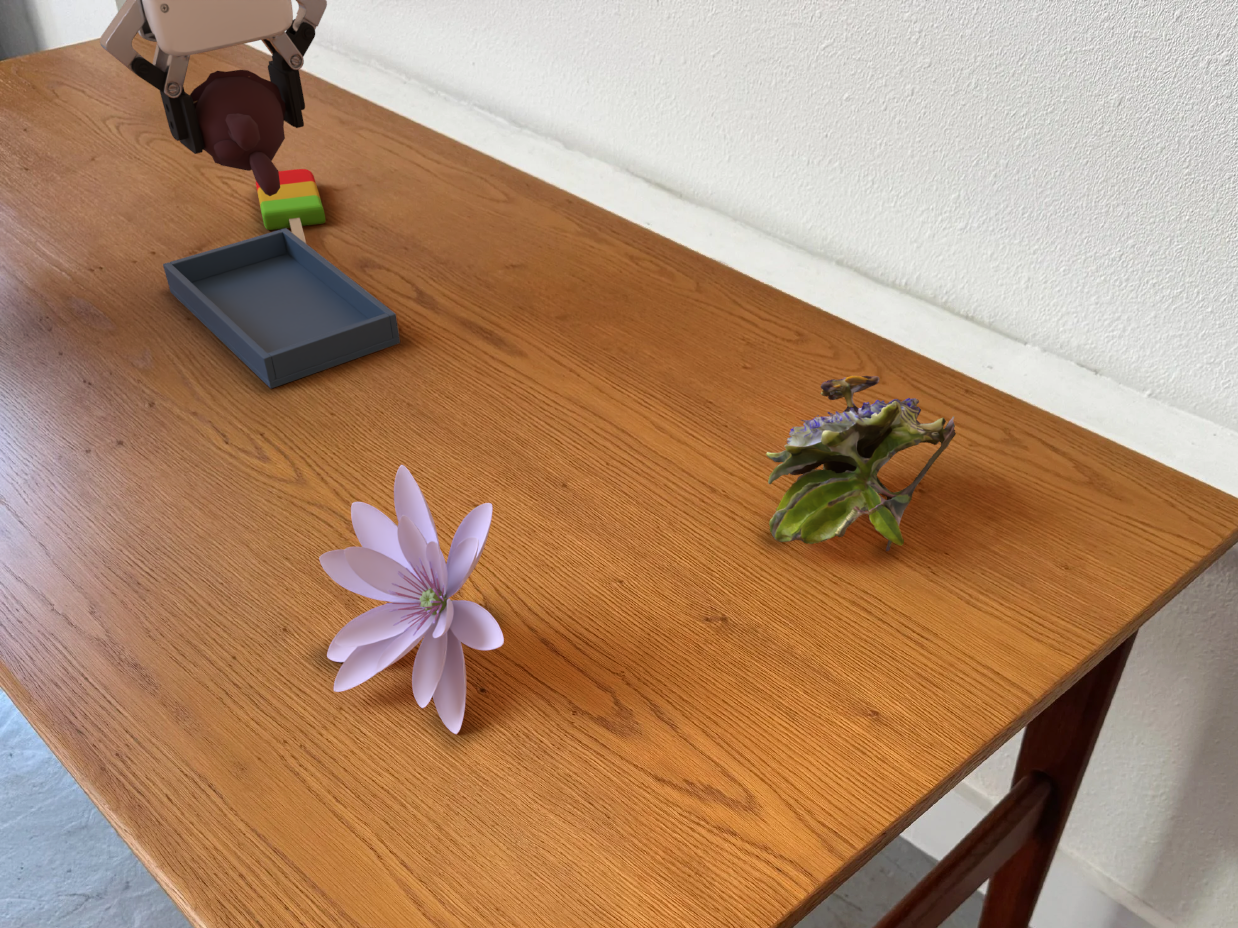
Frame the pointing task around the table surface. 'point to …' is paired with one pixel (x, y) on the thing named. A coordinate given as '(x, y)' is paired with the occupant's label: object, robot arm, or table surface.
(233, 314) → the tray
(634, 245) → the table surface
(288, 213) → the popsicle
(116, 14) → the robot arm
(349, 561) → the water lily
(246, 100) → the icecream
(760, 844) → the table surface
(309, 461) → the table surface
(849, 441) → the passion flower
